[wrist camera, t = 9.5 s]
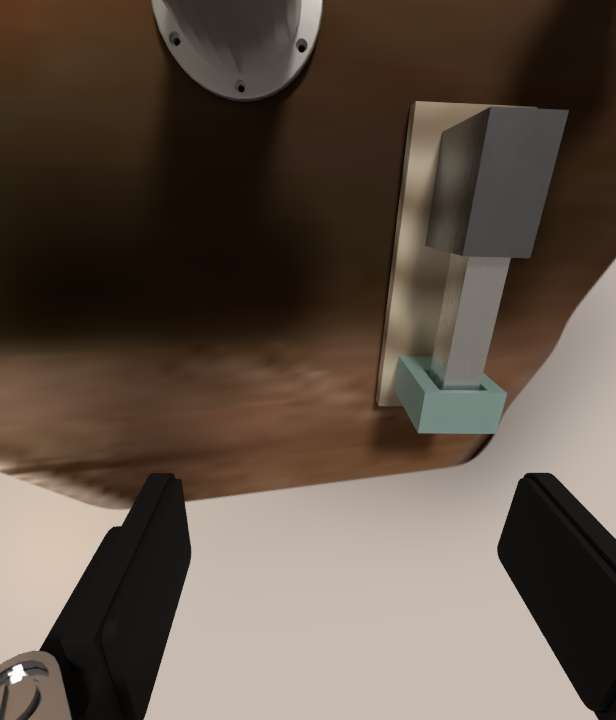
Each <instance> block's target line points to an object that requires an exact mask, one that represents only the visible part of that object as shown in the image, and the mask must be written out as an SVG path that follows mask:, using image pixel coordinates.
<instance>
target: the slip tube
mask: <svg viewBox="0 0 616 720" xmlns="http://www.w3.org/2000/svg"><path fill="white" fill-rule="evenodd" d="M510 259H511V258H506V257H471V256H460V255H456V254H453V253H451V258H450V263H449V269H448V275H447V280H446V286H445V291H444V297H443V303H442V308H441V314H440V319H439V325H438V331H437V336H436V342H435V347H434V353H433V359H432V364H431V370H430V375H429V378H430V379H431V380H432V381H433V383H434V384H435V385H436V386H437V388H438V389H439V390H475V391H479V388H480V383H481V379H482V375H483V371H484V367H485V363H486V359H487V354H488V350H489V346H490V342H491V338H492V334H493V330H494V325H495V321H496V317H497V313H498V309H499V305H500V301H501V297H502V292H503V288H504V284H505V280H506V276H507V272H508V268H509V263H510Z"/></svg>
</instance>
